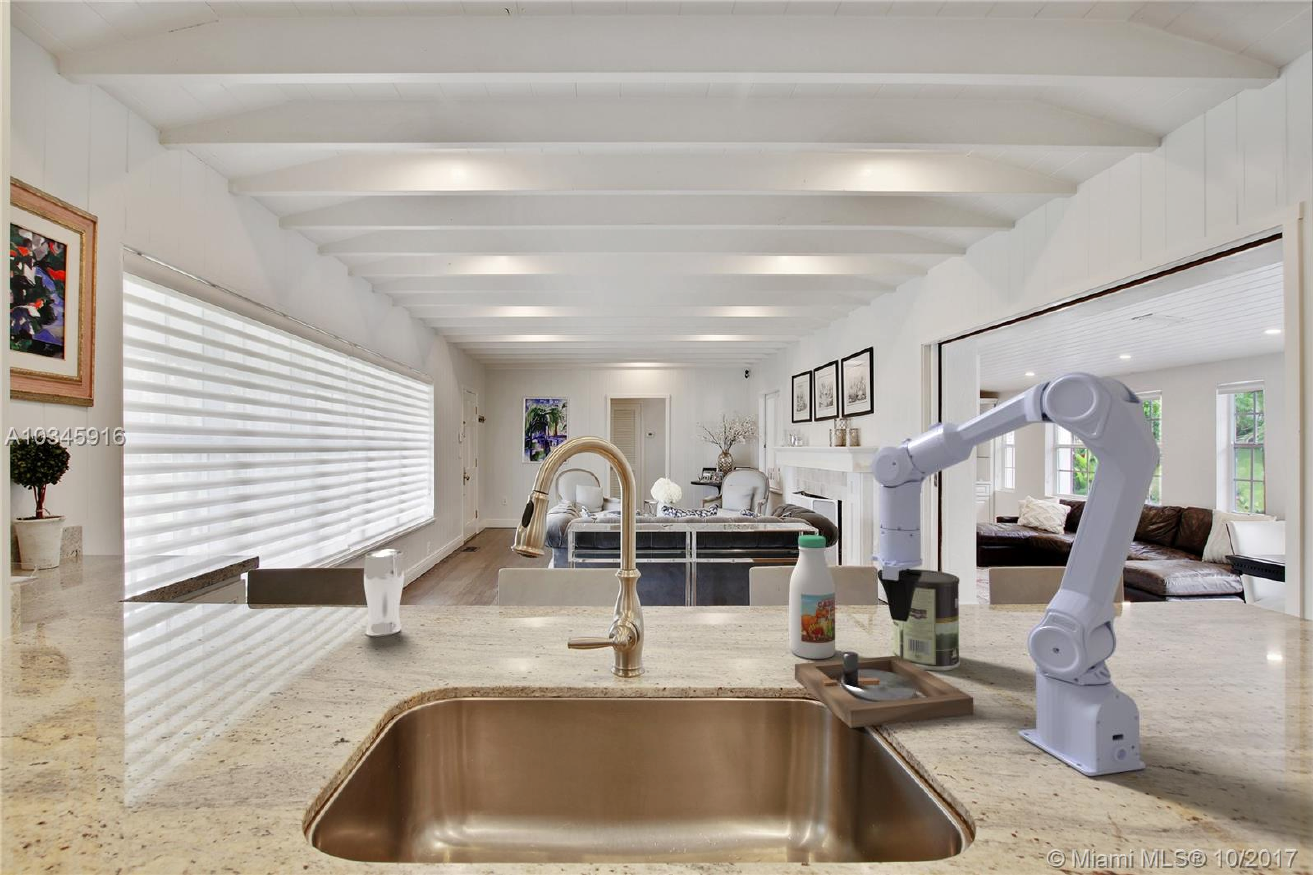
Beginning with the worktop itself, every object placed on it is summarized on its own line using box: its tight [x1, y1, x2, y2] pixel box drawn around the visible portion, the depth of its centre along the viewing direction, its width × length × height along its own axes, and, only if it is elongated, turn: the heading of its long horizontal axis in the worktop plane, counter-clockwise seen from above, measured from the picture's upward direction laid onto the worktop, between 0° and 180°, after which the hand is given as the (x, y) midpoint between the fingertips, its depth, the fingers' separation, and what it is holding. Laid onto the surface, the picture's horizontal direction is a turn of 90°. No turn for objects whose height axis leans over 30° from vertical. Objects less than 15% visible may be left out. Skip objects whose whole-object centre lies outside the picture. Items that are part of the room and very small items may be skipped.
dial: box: [840, 650, 917, 703], centre depth 84 cm, size 10×10×6 cm
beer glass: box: [363, 549, 405, 637], centre depth 112 cm, size 7×7×15 cm
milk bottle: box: [788, 534, 836, 660], centre depth 101 cm, size 8×8×20 cm
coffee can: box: [892, 568, 961, 672], centre depth 98 cm, size 10×10×14 cm
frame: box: [794, 655, 974, 729], centre depth 84 cm, size 16×18×3 cm
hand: (899, 619), depth 87 cm, fingers closed
